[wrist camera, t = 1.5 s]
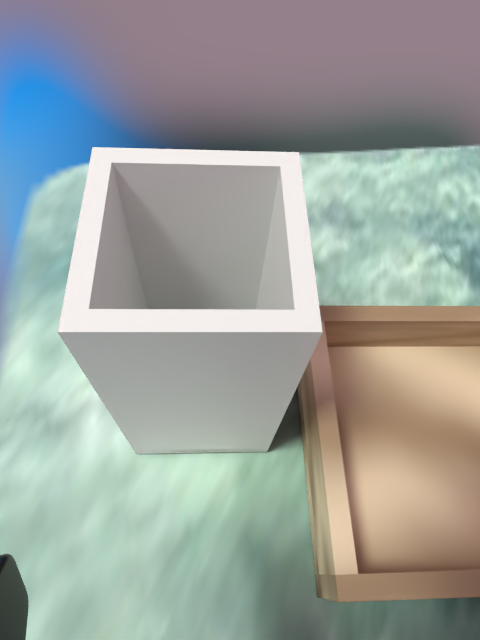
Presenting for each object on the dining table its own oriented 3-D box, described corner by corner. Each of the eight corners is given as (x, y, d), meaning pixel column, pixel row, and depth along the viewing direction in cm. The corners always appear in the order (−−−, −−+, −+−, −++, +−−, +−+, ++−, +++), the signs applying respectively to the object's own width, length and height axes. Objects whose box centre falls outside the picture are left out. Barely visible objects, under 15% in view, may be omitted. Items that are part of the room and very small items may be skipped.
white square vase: (267, 451, 21) (322, 332, 10) (136, 453, 21) (57, 332, 10) (260, 336, 24) (298, 152, 13) (145, 336, 23) (92, 147, 13)
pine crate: (590, 587, 19) (663, 590, 16) (317, 596, 18) (338, 602, 15) (504, 339, 25) (545, 306, 21) (292, 339, 24) (304, 305, 21)
